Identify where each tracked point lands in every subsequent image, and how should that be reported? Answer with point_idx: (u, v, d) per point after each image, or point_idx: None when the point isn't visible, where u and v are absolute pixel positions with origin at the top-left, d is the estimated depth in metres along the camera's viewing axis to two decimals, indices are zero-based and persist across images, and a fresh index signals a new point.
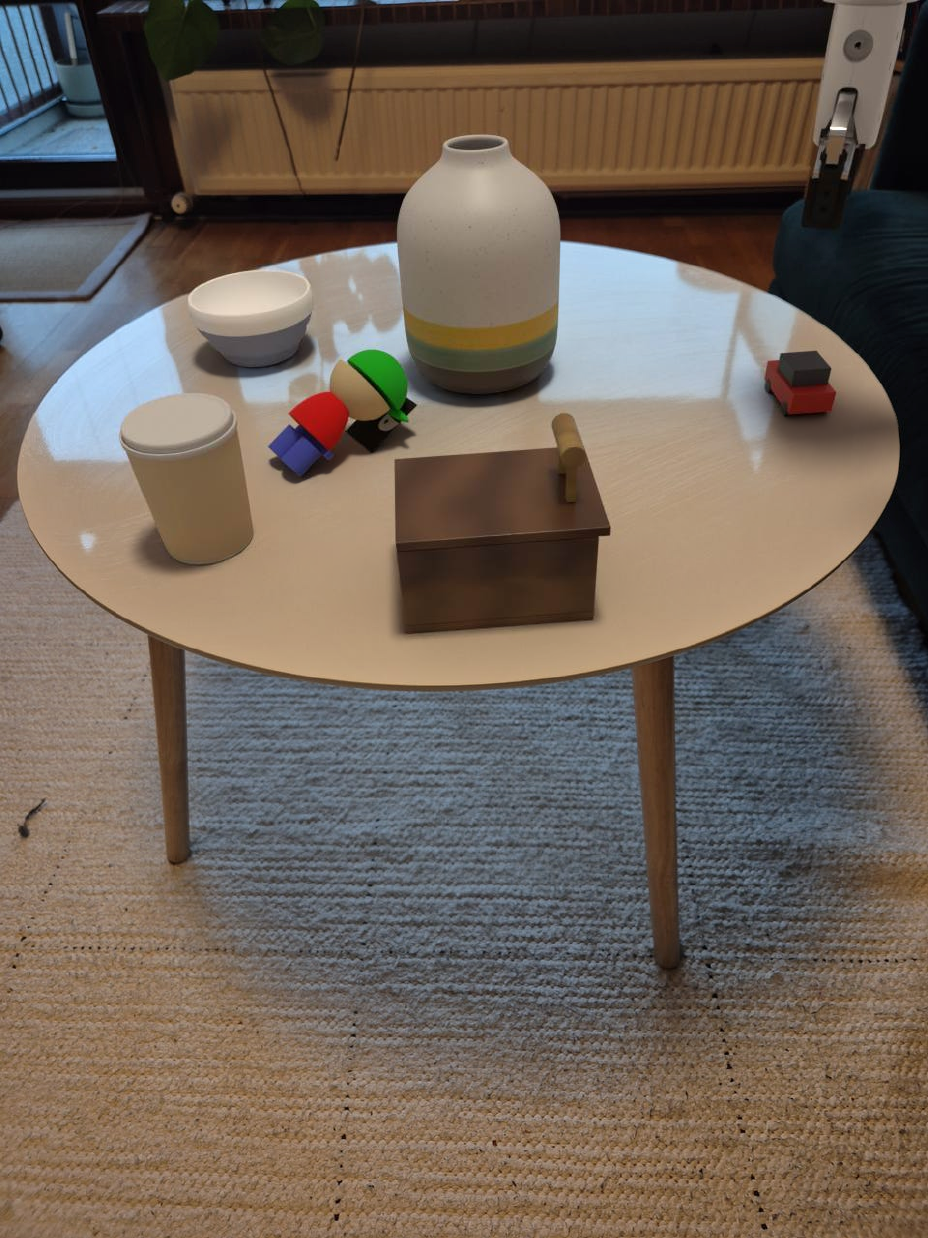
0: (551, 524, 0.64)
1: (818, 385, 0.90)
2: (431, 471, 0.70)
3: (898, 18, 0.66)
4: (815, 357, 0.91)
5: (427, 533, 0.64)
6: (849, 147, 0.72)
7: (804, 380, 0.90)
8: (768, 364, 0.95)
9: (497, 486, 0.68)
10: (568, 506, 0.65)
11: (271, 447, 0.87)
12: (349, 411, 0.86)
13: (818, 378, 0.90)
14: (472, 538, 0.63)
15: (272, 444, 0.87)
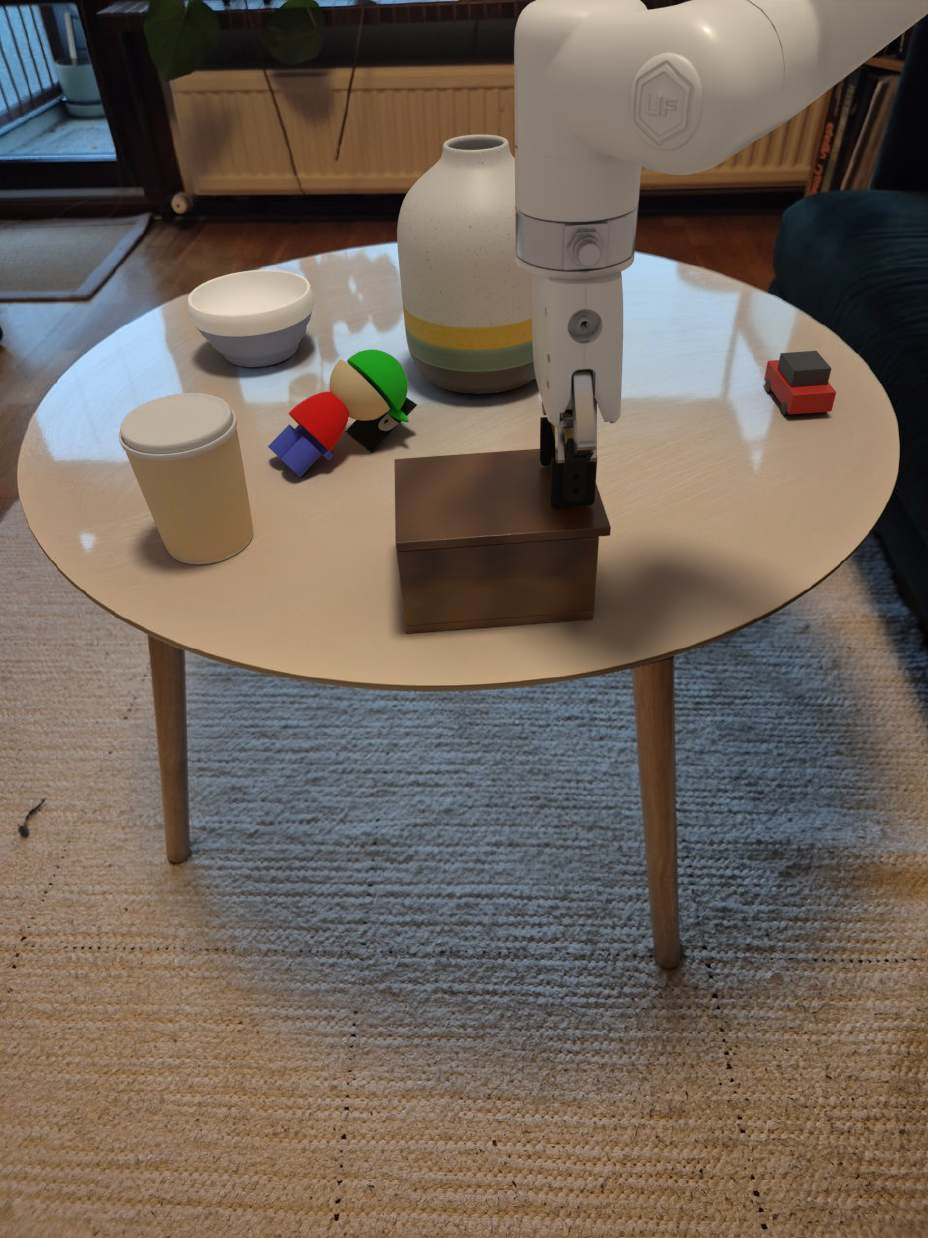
0: (551, 524, 0.64)
1: (818, 385, 0.90)
2: (431, 471, 0.70)
3: (622, 290, 0.54)
4: (815, 357, 0.91)
5: (427, 533, 0.64)
6: None
7: (804, 380, 0.90)
8: (768, 364, 0.95)
9: (497, 486, 0.68)
10: None
11: (271, 447, 0.87)
12: (349, 411, 0.86)
13: (818, 378, 0.90)
14: (472, 538, 0.63)
15: (272, 444, 0.87)
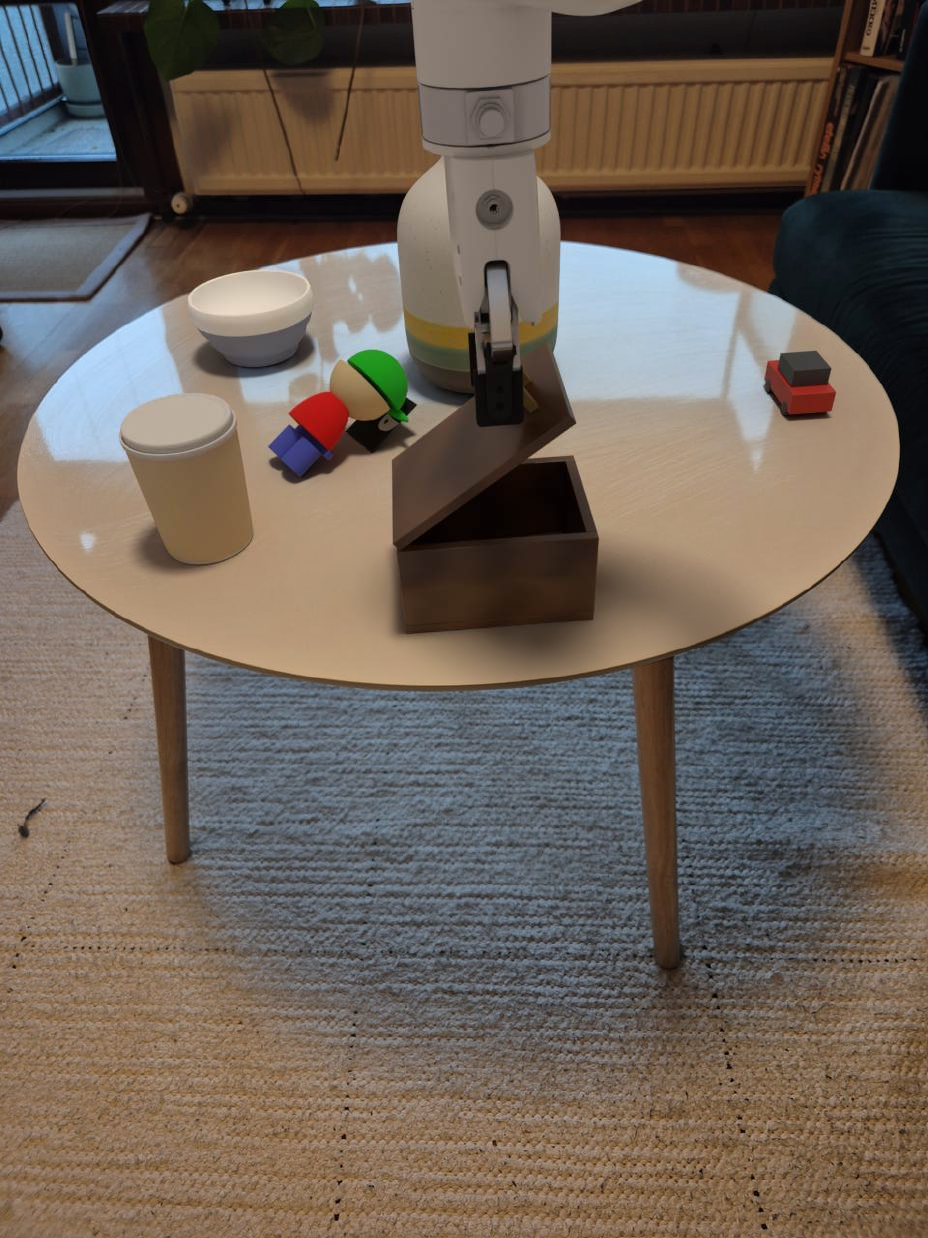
0: (517, 445, 0.59)
1: (818, 385, 0.90)
2: (419, 453, 0.69)
3: (534, 170, 0.50)
4: (815, 357, 0.91)
5: (416, 519, 0.63)
6: (513, 336, 0.56)
7: (804, 380, 0.90)
8: (768, 364, 0.95)
9: (472, 435, 0.65)
10: (532, 416, 0.60)
11: (271, 447, 0.87)
12: (349, 411, 0.86)
13: (818, 378, 0.90)
14: (452, 502, 0.61)
15: (272, 444, 0.87)
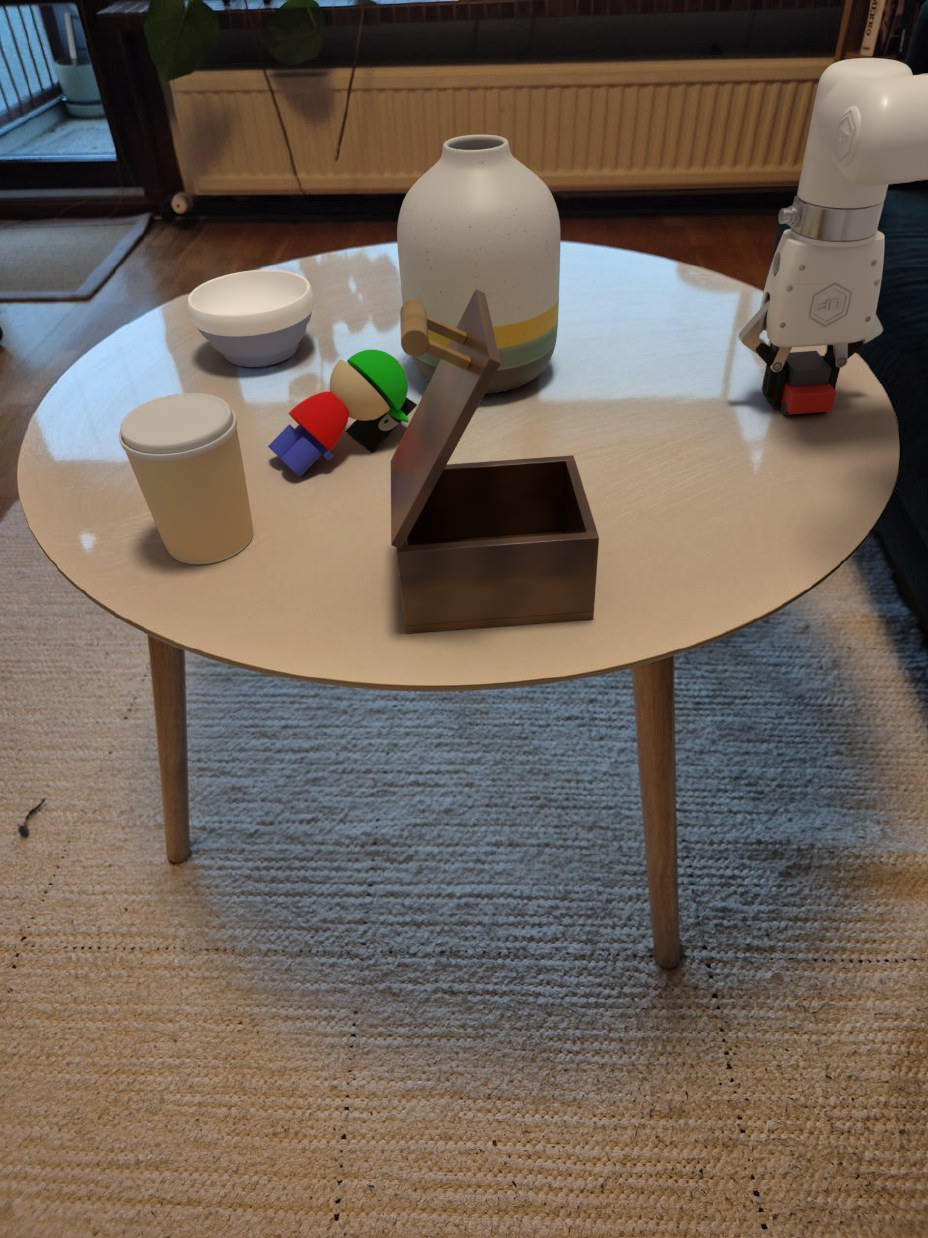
0: (459, 408, 0.57)
1: (818, 385, 0.90)
2: (405, 446, 0.68)
3: (799, 254, 0.81)
4: (815, 357, 0.91)
5: (403, 514, 0.62)
6: (777, 348, 0.89)
7: (804, 380, 0.90)
8: None
9: (433, 411, 0.63)
10: (467, 373, 0.58)
11: (271, 447, 0.87)
12: (349, 411, 0.86)
13: (818, 378, 0.90)
14: (423, 486, 0.60)
15: (272, 443, 0.87)
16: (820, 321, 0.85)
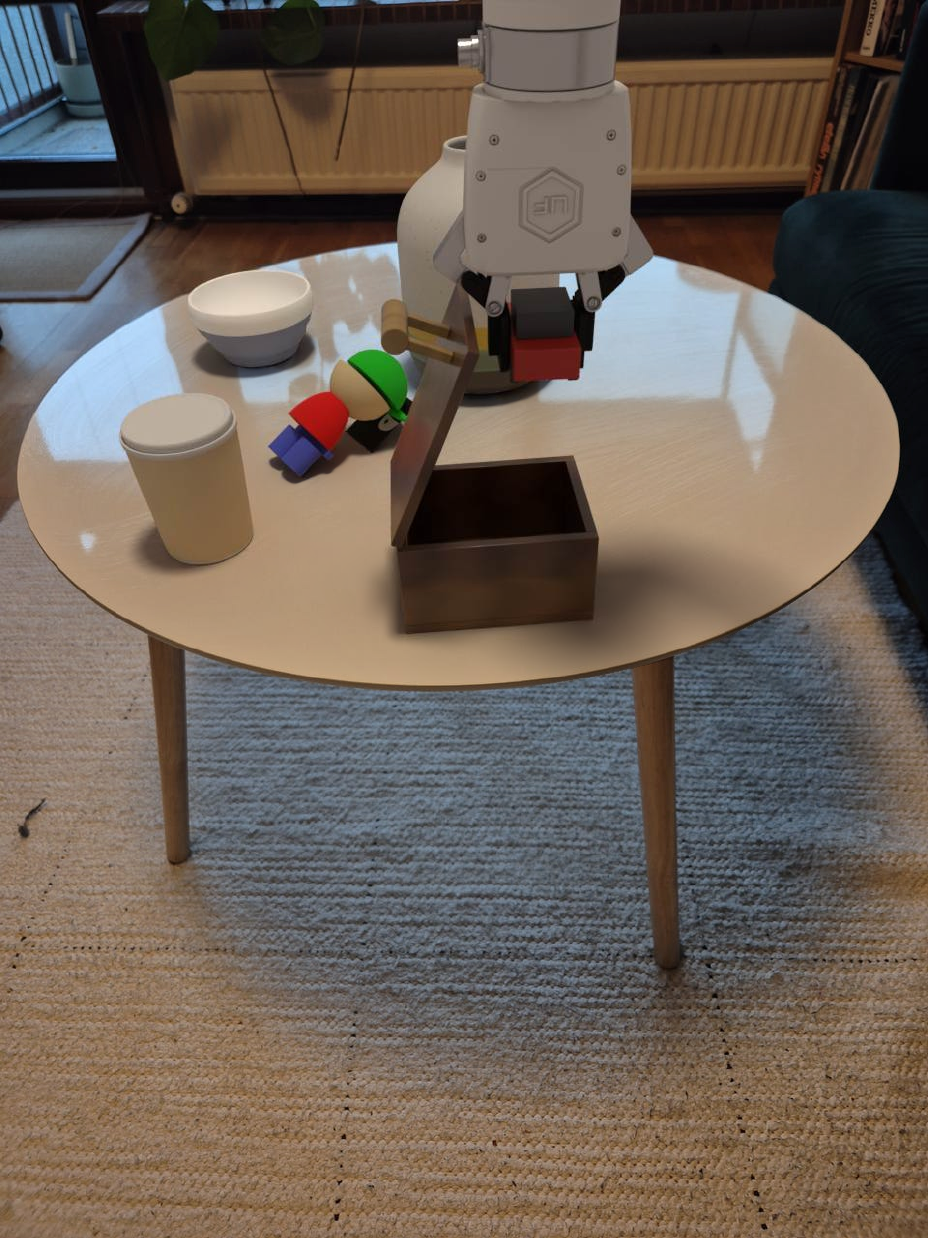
0: (443, 403, 0.57)
1: (558, 337, 0.59)
2: (401, 446, 0.68)
3: (486, 116, 0.50)
4: (558, 296, 0.60)
5: (400, 513, 0.62)
6: (491, 278, 0.57)
7: (536, 330, 0.58)
8: None
9: (424, 408, 0.63)
10: (450, 367, 0.58)
11: (271, 447, 0.87)
12: (349, 411, 0.86)
13: (557, 327, 0.58)
14: (416, 484, 0.60)
15: (272, 443, 0.87)
16: (540, 233, 0.54)
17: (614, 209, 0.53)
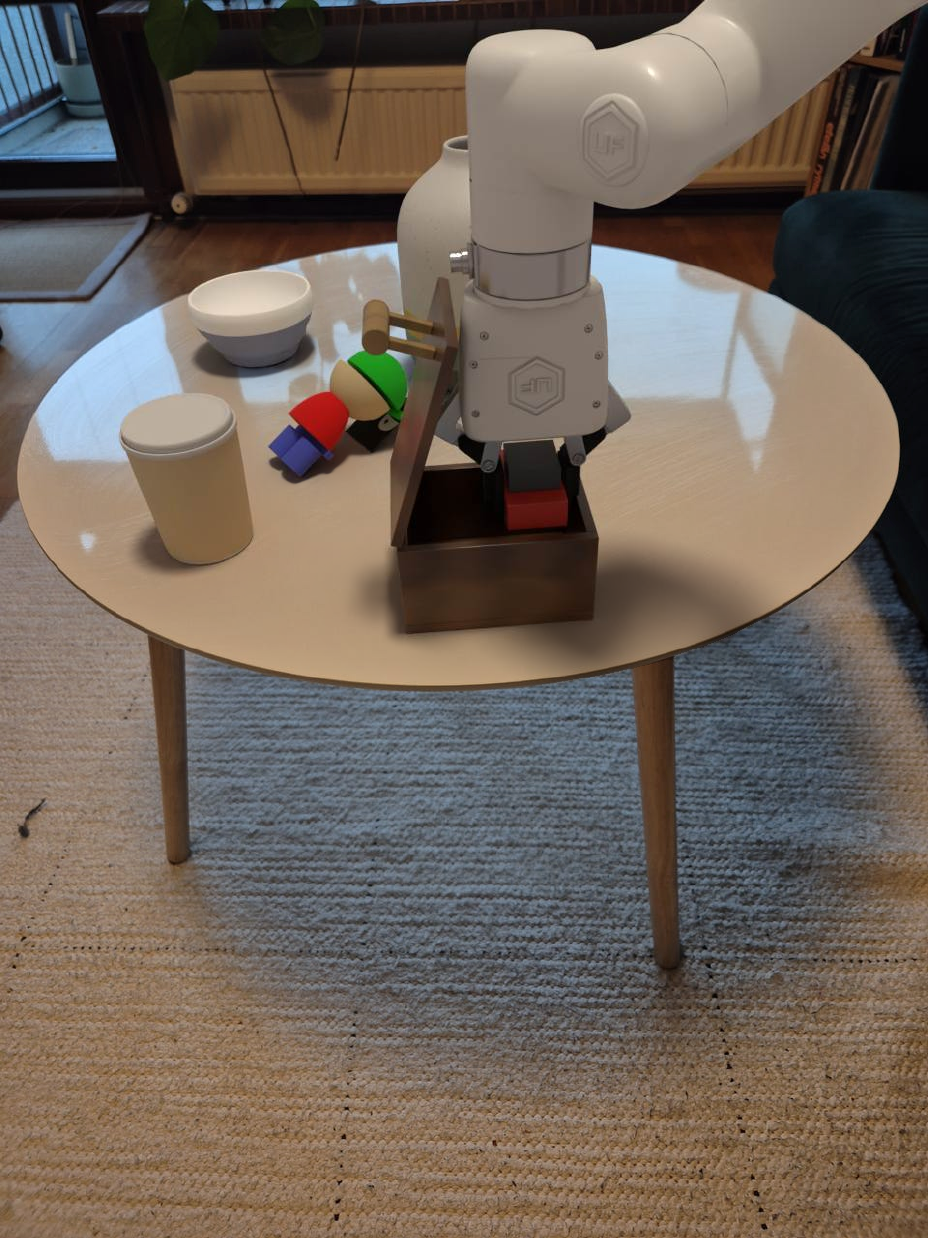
0: (429, 399, 0.57)
1: (547, 490, 0.65)
2: (398, 445, 0.68)
3: (477, 318, 0.56)
4: (546, 450, 0.66)
5: (397, 513, 0.62)
6: None
7: (526, 485, 0.64)
8: None
9: (414, 406, 0.63)
10: (433, 363, 0.57)
11: (271, 447, 0.87)
12: (349, 411, 0.86)
13: (546, 481, 0.64)
14: (409, 482, 0.60)
15: (272, 444, 0.87)
16: (528, 408, 0.60)
17: (593, 386, 0.59)
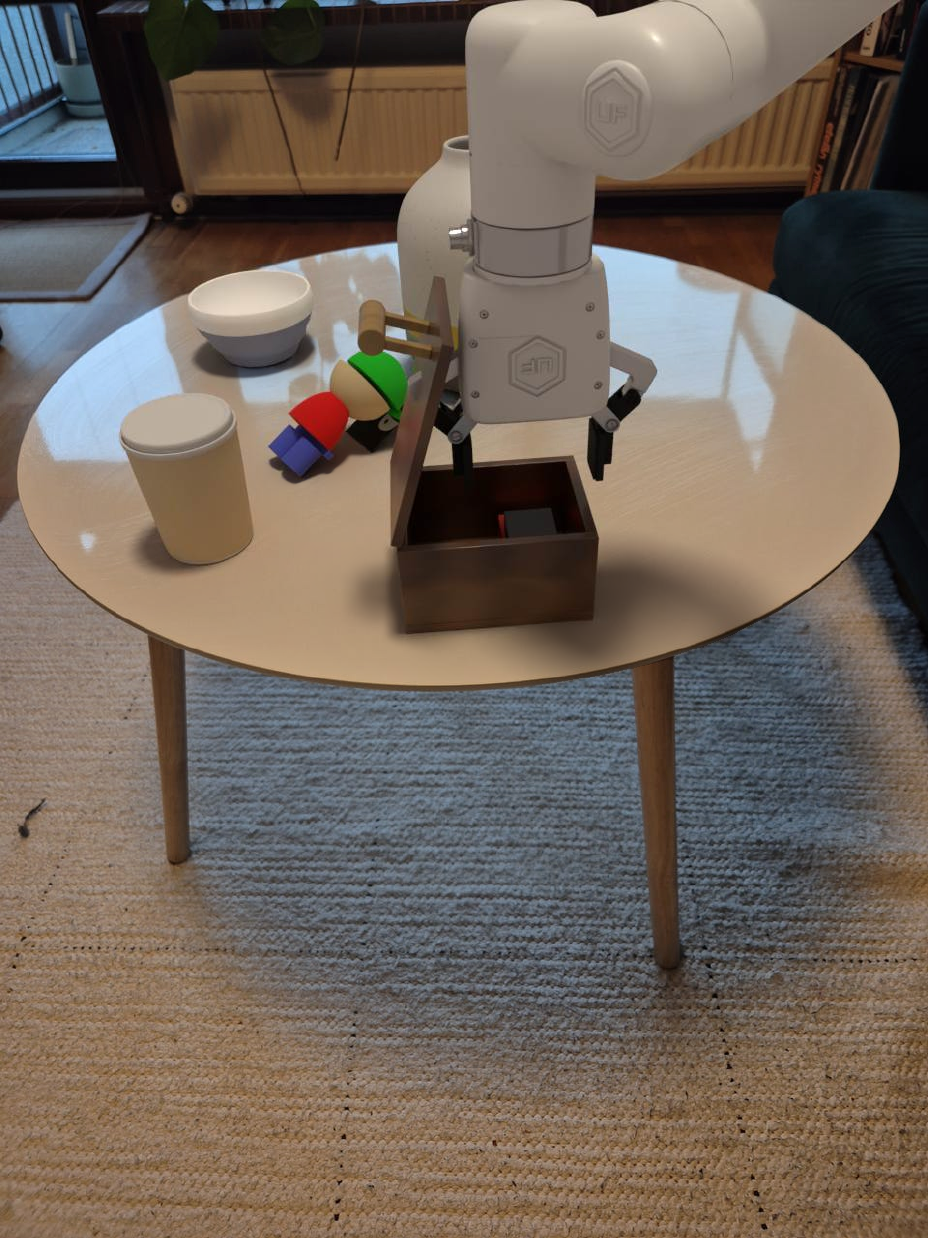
0: (425, 398, 0.57)
1: None
2: (397, 445, 0.68)
3: (476, 295, 0.55)
4: (544, 519, 0.70)
5: (397, 513, 0.62)
6: (463, 411, 0.62)
7: None
8: (498, 520, 0.74)
9: (412, 406, 0.63)
10: (430, 362, 0.57)
11: (271, 447, 0.87)
12: (349, 411, 0.86)
13: None
14: (408, 482, 0.60)
15: (272, 443, 0.87)
16: (528, 389, 0.59)
17: (595, 367, 0.59)
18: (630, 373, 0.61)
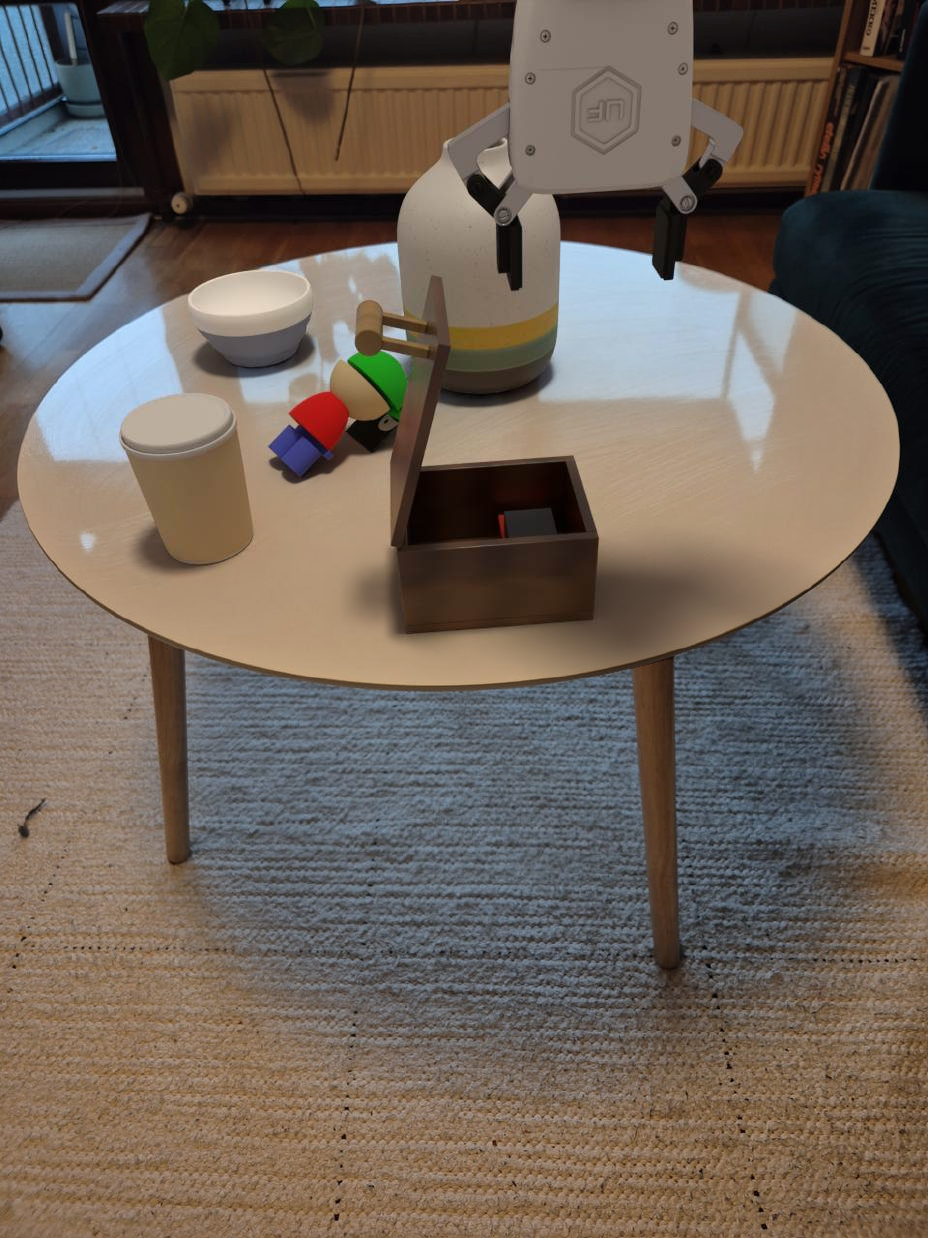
0: (423, 398, 0.57)
1: None
2: (397, 445, 0.68)
3: (537, 9, 0.46)
4: (544, 519, 0.70)
5: (396, 513, 0.62)
6: (513, 182, 0.52)
7: None
8: (498, 520, 0.74)
9: (411, 405, 0.63)
10: (427, 362, 0.57)
11: (271, 447, 0.87)
12: (349, 411, 0.86)
13: None
14: (406, 482, 0.60)
15: (272, 444, 0.87)
16: (594, 143, 0.50)
17: (674, 114, 0.49)
18: (711, 135, 0.52)
